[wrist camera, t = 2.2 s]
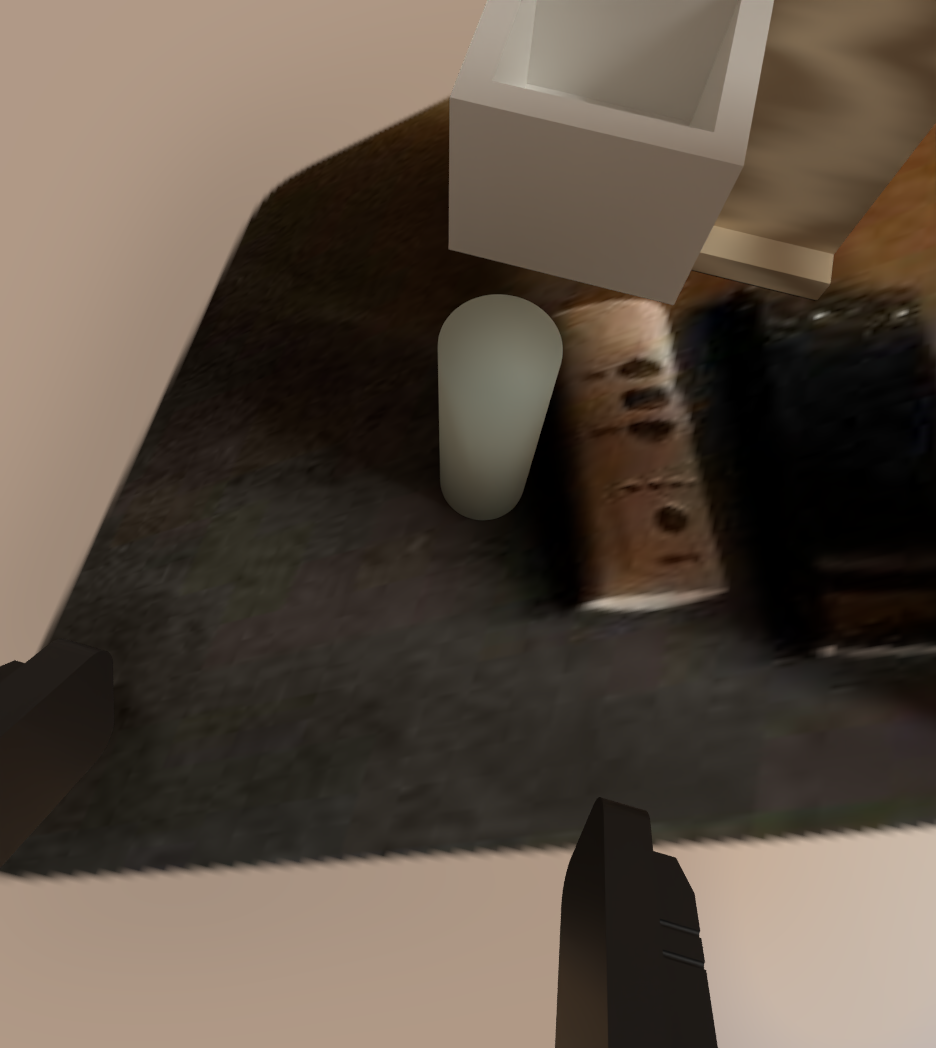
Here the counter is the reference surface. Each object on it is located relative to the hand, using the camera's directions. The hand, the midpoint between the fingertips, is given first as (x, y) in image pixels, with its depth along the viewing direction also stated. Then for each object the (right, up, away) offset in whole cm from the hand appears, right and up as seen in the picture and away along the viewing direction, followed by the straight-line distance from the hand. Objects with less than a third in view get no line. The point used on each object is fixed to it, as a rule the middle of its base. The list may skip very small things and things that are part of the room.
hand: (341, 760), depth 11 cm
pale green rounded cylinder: (+3, +6, +18) cm, 19 cm away
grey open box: (+7, +17, +16) cm, 24 cm away
